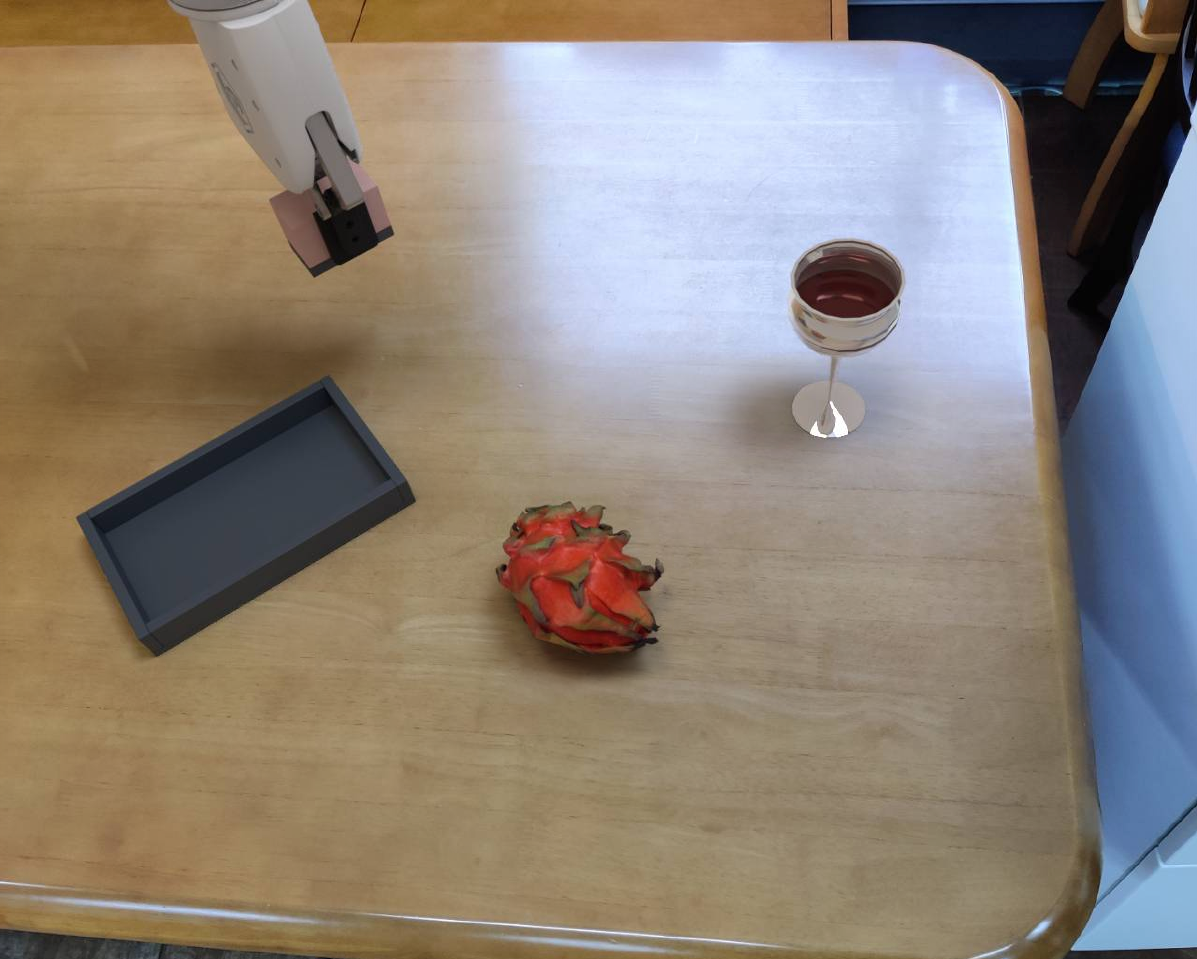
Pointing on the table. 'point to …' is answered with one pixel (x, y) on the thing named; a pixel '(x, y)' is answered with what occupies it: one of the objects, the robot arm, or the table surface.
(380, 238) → the eraser
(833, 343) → the wineglass
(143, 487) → the tray
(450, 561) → the table surface
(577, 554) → the dragon fruit
